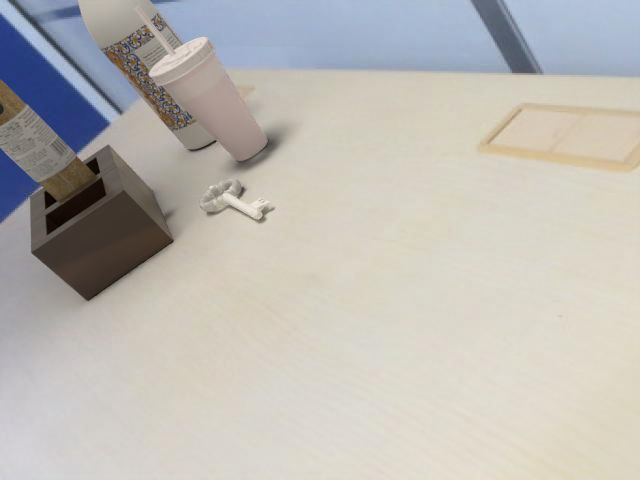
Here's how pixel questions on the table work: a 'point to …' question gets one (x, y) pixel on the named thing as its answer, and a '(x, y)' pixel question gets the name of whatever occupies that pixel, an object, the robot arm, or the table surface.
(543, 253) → the table surface
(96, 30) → the bath foam
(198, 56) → the smoothie
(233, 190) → the key
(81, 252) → the two-slot toaster box
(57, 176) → the sprinkles bottle
